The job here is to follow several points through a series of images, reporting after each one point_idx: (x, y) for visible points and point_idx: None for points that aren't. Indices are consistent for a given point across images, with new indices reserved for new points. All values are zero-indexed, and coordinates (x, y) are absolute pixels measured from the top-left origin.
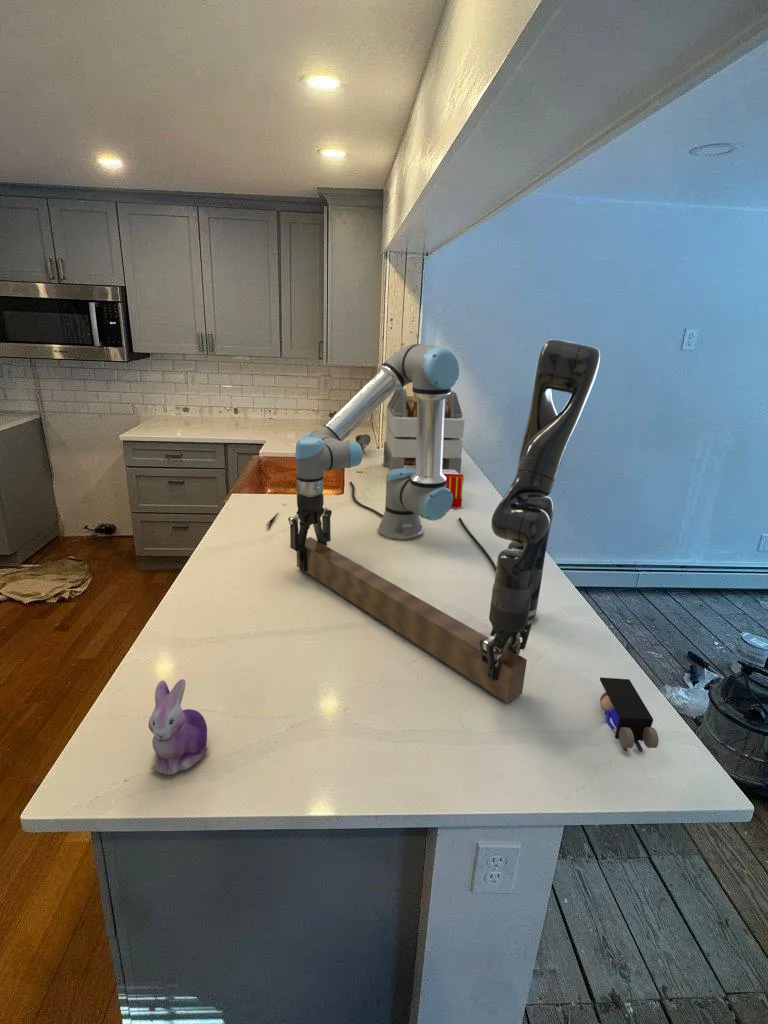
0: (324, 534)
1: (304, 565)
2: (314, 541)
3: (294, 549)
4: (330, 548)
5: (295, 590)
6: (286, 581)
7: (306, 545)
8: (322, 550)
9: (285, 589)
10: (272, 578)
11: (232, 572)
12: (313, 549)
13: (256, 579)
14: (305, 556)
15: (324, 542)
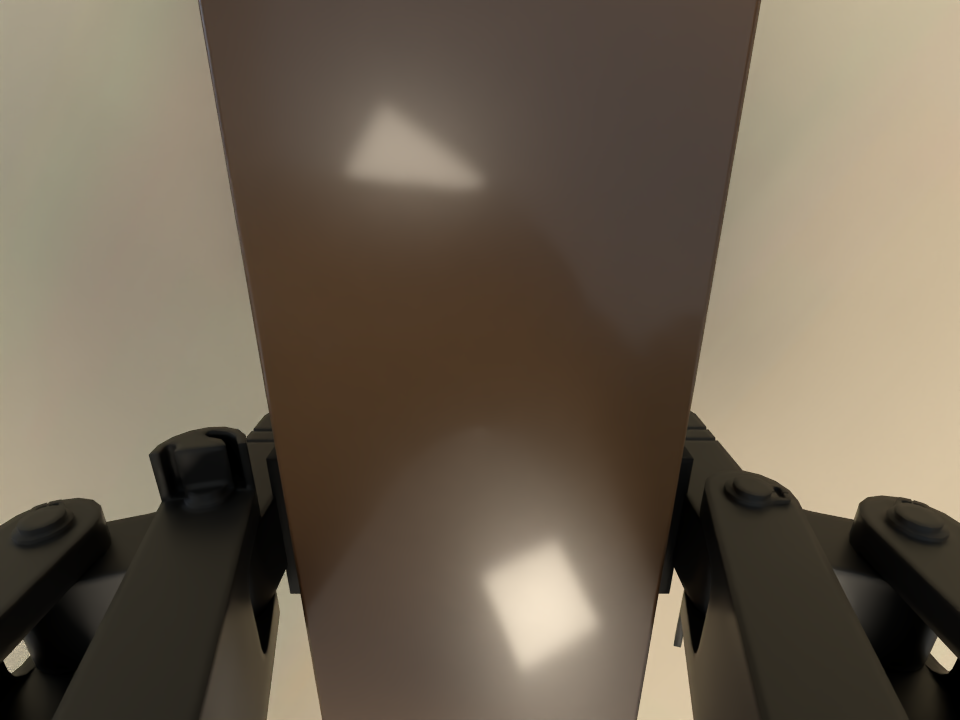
0: (40, 717)
1: None
2: (370, 616)
3: (951, 539)
4: (215, 53)
5: (872, 92)
6: (784, 322)
7: (621, 560)
8: (500, 87)
9: (922, 180)
10: (827, 438)
11: (950, 660)
12: (654, 302)
13: (929, 492)
14: None
15: (187, 504)
